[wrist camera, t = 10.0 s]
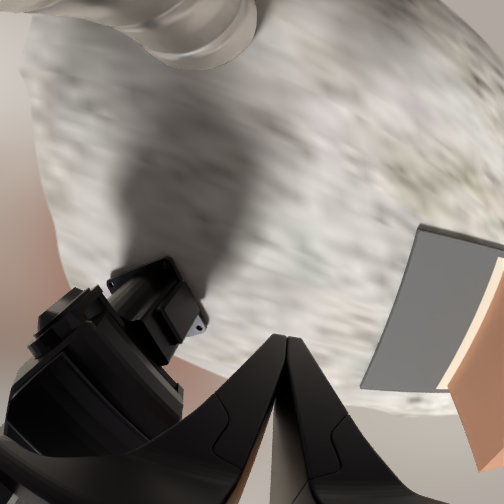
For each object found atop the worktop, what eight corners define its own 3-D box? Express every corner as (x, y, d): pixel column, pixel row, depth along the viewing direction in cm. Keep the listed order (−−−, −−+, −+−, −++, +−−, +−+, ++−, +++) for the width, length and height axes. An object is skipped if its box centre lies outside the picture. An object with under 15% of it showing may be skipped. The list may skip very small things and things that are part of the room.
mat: (359, 385, 24) (360, 389, 24) (417, 228, 19) (419, 230, 18) (533, 385, 22) (534, 388, 21) (589, 276, 16) (591, 278, 16)
